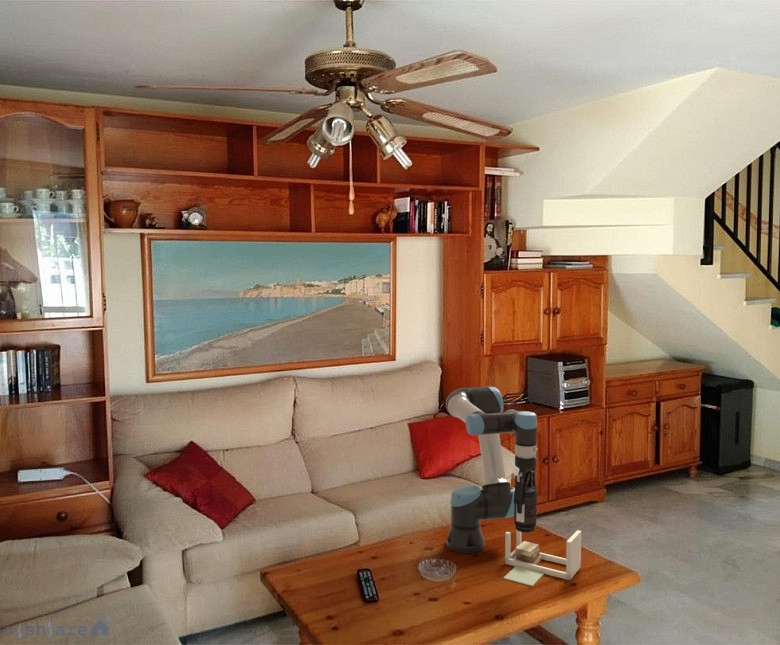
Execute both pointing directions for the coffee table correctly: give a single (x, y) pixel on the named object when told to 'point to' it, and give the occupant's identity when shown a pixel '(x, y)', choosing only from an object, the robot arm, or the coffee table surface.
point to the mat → (524, 576)
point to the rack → (549, 556)
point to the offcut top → (527, 548)
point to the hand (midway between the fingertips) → (525, 517)
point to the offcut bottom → (531, 562)
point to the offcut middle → (527, 558)
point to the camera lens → (528, 511)
